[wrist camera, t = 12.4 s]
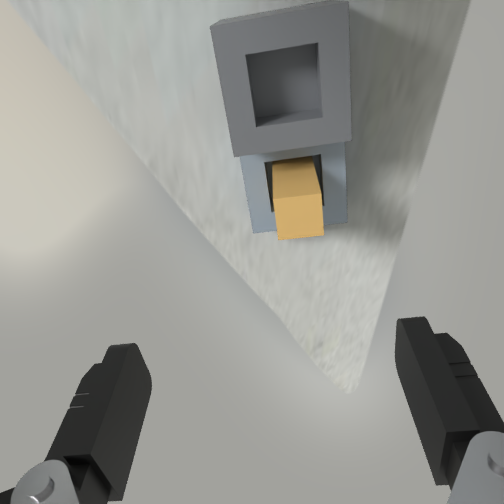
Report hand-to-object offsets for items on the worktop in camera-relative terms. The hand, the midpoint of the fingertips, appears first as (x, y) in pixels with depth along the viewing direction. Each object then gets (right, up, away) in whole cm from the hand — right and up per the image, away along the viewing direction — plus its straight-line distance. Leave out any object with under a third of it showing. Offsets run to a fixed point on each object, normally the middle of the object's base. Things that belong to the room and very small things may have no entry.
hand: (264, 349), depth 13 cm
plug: (+4, +11, +30) cm, 33 cm away
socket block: (+3, +16, +29) cm, 33 cm away
